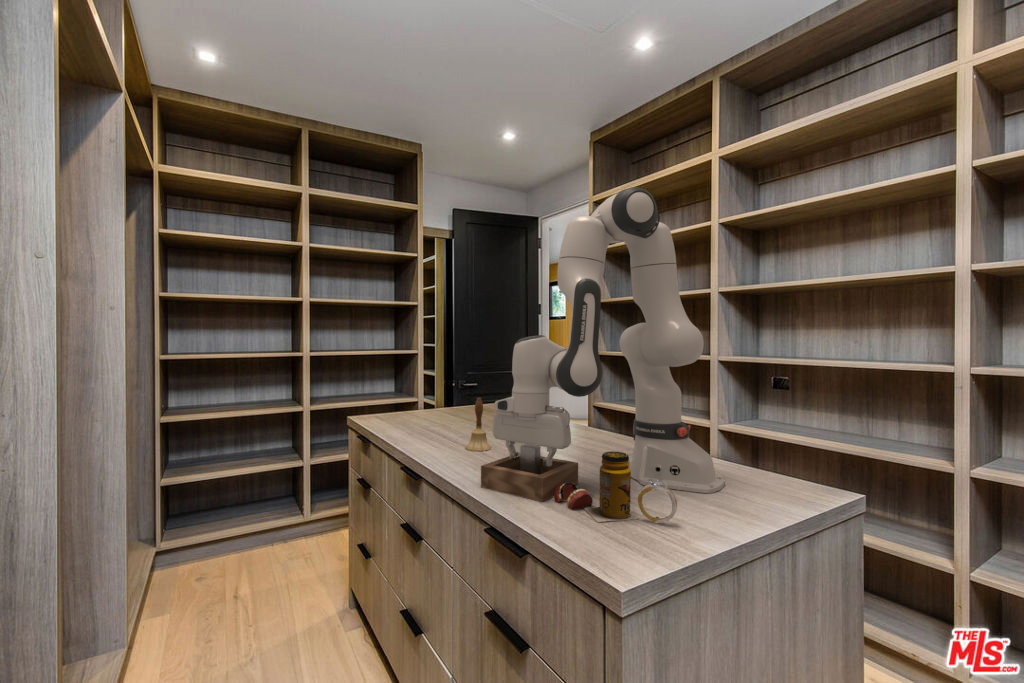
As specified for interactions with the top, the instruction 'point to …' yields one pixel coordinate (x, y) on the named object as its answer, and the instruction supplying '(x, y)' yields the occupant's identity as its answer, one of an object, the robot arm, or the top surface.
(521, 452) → the stepped grey peg
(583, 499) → the dentures model
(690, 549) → the top surface
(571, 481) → the open wooden box
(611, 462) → the condiment
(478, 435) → the hand bell
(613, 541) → the top surface
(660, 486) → the bracelet
